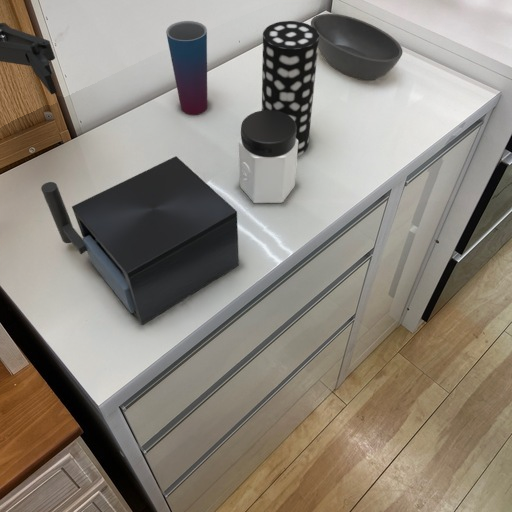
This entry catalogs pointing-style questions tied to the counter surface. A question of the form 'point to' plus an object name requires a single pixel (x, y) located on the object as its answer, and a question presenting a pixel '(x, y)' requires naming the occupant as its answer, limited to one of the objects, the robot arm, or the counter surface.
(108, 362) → the counter surface
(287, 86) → the spotted tube
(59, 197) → the blue-grey drawer tray
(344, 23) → the bowl
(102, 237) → the drawer box
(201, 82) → the cup
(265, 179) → the jar
